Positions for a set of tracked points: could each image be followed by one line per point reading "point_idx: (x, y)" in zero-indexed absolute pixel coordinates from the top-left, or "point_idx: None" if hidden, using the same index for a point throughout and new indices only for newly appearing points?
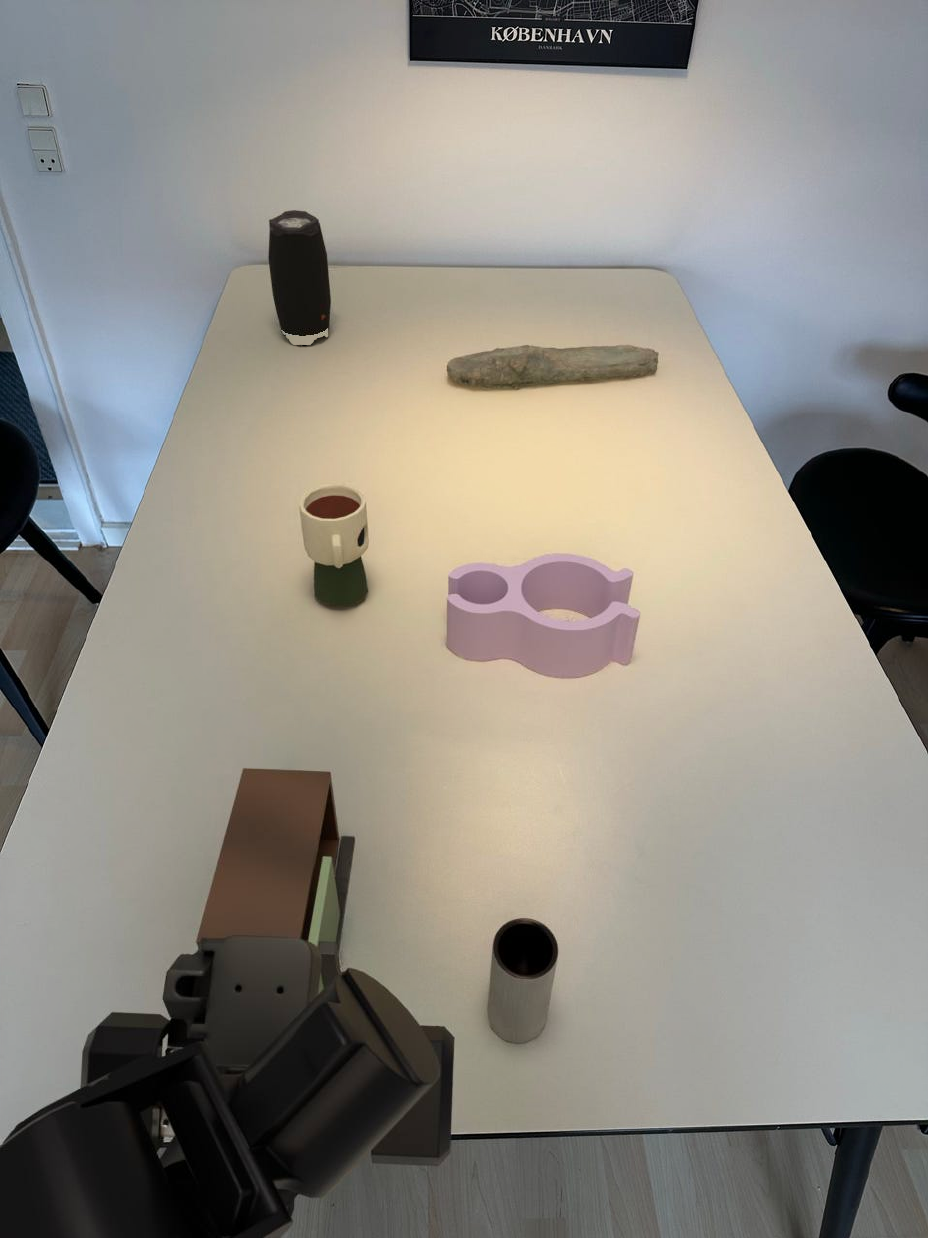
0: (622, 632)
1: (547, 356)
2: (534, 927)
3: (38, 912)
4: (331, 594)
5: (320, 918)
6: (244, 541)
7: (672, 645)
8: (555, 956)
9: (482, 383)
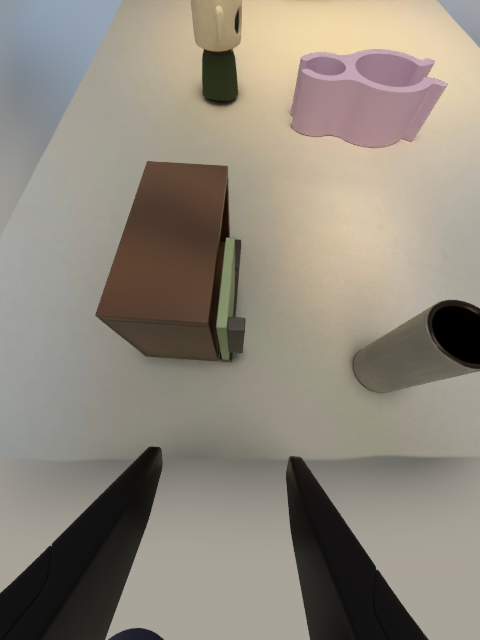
0: (423, 106)
1: None
2: (464, 309)
3: (11, 286)
4: (214, 88)
5: (228, 294)
6: (157, 67)
7: (438, 131)
8: None
9: None
